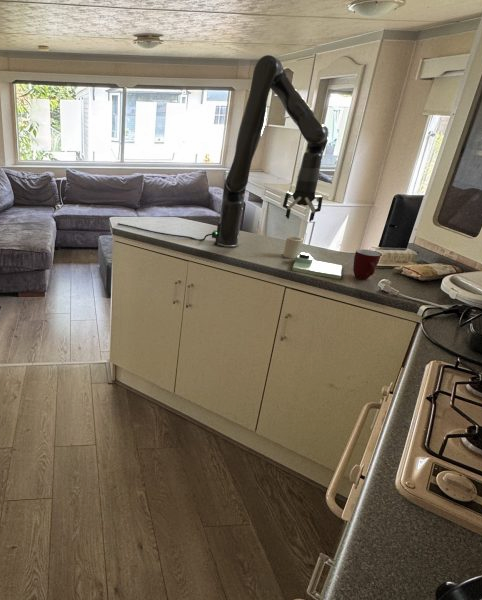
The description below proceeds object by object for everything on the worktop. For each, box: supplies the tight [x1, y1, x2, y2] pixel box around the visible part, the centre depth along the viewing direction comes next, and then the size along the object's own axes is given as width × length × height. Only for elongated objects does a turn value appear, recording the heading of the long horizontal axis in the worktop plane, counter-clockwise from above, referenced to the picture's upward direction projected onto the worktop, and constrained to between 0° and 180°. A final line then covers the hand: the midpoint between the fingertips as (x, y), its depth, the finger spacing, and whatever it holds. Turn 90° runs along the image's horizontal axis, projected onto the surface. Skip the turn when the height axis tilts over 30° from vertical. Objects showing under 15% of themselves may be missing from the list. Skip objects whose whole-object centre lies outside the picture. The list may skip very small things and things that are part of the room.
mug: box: [352, 248, 382, 281], centre depth 158 cm, size 10×8×10 cm
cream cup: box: [282, 235, 304, 260], centre depth 181 cm, size 6×6×8 cm
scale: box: [291, 254, 343, 280], centre depth 168 cm, size 17×14×3 cm
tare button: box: [299, 252, 311, 259], centre depth 172 cm, size 4×4×2 cm
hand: (298, 219), depth 176 cm, fingers open, 8 cm apart
